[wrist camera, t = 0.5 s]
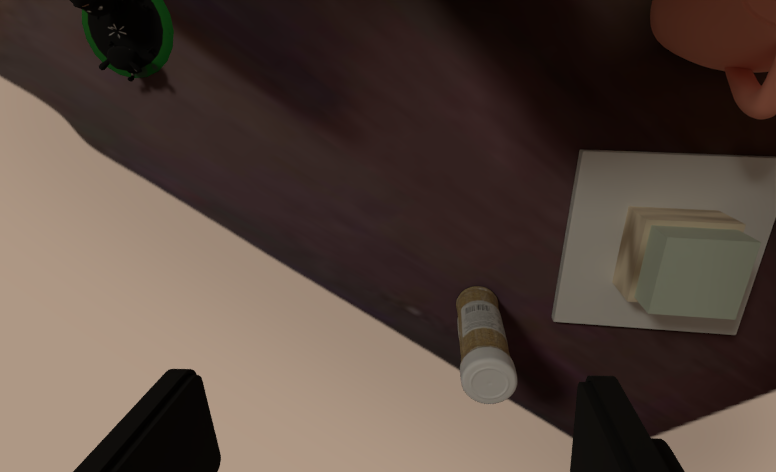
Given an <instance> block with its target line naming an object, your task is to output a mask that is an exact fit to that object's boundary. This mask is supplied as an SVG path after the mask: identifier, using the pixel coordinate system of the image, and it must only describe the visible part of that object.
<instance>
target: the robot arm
mask: <svg viewBox="0 0 776 472" xmlns="http://www.w3.org/2000/svg"><path fill="white" fill-rule="evenodd" d="M220 461H221V455H220V451H219V447H218V443H217V438H216V434H215V430H214V426H213V422H212V418H211V414H210V410H209V406H208V402H207V398H206V394H205V390H204V385H203V381H202V378H201V377H200V376H199V375H196V372H195V371H194V370H191V369H170V370H168V371H167V372H166V373H165V374H164V375H163V376H162V377H161V378H160V379H159V380H158V381H157V382H156V383H155V384H154V386H153V387H152V388H151V389H150V390H149V391H148V392H147V393H146V394H145V395H144V396H143V397H142V398H141V400H139V402H138V403H137V404H136V405H135V406H134V407H133V408H132V409H131V410H130V411H129V412H128V413H127V414H126V416H125V417H124V418H123V419H122V420H121V421H120V422H119V423H118V424H117V425H116V426H115V427H114V428H113V429H112V431H111V432H110V433H109V434H108V435H107V436H106V437H105V438H104V439H103V440H102V441H101V442H100V444H99V445H98V446H97V447H96V448H95V449H94V450H93V451H92V452H91V453H90V454H89V455H88V456H87V457H86V459H85V460H84V461H83V462H82V463H81V464H80V465H79V466H78V467H77V468H76V469H75V470H74V471H73V472H217V471H218V469H219V466H220ZM570 472H684V470H683V468H682V467H681V465H680V463H679V462H678V460H677V458H676V457H675V455H674V453H673V452H672V450H671V449H670V447H669V446H668V444H667V443H666V442H665V441H664V440H662V439H651V438H650V436H649V434H648V433H647V431H646V429H645V427H644V426H643V424H642V422H641V420H640V419H639V417H638V415H637V413H636V412H635V410H634V408H633V406H632V405H631V403H630V401H629V399H628V398H627V396H626V394H625V392H624V391H623V389H622V387H621V385H620V384H619V382H618V380H617V379H616V377H614V376H587V379H586V382H579V384H578V389H577V400H576V412H575V423H574V434H573V445H572V456H571V467H570Z"/></svg>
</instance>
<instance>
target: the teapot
mask: <svg viewBox="0 0 776 472" xmlns="http://www.w3.org/2000/svg"><path fill="white" fill-rule="evenodd" d="M650 25H651V29H652V32H653V34H654V36H655V38H656V39H657V41H658V42H659V43H660V44H661V45H662V46H663V47H665V48H666V49H668V50H669V51H671V52H672V53H674V54H676V55H678V56H680V57H682V58H684V59H686V60H688V61H691V62H693V63H696V64H698V65H701V66H704V67H708V68H711V69H716V70H721V71H725V73H726V77H727V80H728V83H729V86H730V89H731V92H732V95H733V98H734V100H735V102H736V104H737V105H738V107H739V108H740V109H741V110H742V112H744V113H745V114H747V115H748V116H750V117H752V118H755V119H767V118H771V117H773V116H775V115H776V0H652V4H651V11H650ZM759 72H768V75H767V77H766V79H765V81H764V83H763V84H762V86H761V85H760V84H759V82H758V81H757V79H756V77H755V75H754V73H759Z"/></svg>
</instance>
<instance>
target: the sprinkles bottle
mask: <svg viewBox="0 0 776 472" xmlns="http://www.w3.org/2000/svg"><path fill="white" fill-rule="evenodd" d="M456 308H457V312H458V334H459V339H460V351H461V365H460V377H461V384H462V387H463V390H464V391H465V393H466V394H467V395H468V396H469V397H470V398H472V399H473V400H475V401H477V402H480V403H484V404H495V403H499V402H502V401H504V400H506V399H507V398H509V397H510V396H511V395H512V394H513V393H514V391H515V389H516V386H517V374H516V370H515V366H514V363H513V361H512V359H511V357H510V354H509V350H508V343H507V339H506V335H505V331H504V327H503V323H502V319H501V315H500V312H499V309H498V300H497V297H496V295H495V294H494V293H493V292H492V291H490V290H489V289H487V288H485V287H480V286H476V287H470V288H467V289H465V290H464V291H463V292H462V293H461V294H460V295H459V297H458V298H457V302H456Z"/></svg>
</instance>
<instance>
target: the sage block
mask: <svg viewBox="0 0 776 472" xmlns="http://www.w3.org/2000/svg"><path fill="white" fill-rule="evenodd" d="M760 245H761V242H760V241H758V240H756V239H754V238H752V237H750V236H749V235H747V234H745V233H743V232H741V231H739V230H734V229H715V228H695V227H676V226H657V225H651V229H650V233H649V237H648V241H647V245H646V250H645V254H644V258H643V262H642V266H641V271H640V275H639V279H638V283H637V287H636V292H635V296H634V297H635V299H636V300H637V301H638V302H639V303H640V305H641V306H642V307H643V308H644V309H645V310H646V312H647V313H648V314H660V315H675V316H689V317H703V318H717V319H731V320H736V317H737V314H738V311H739V308H740V305H741V302H742V299H743V296H744V293H745V290H746V287H747V284H748V281H749V278H750V275H751V272H752V269H753V266H754V263H755V260H756V257H757V254H758V251H759V248H760Z"/></svg>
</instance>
